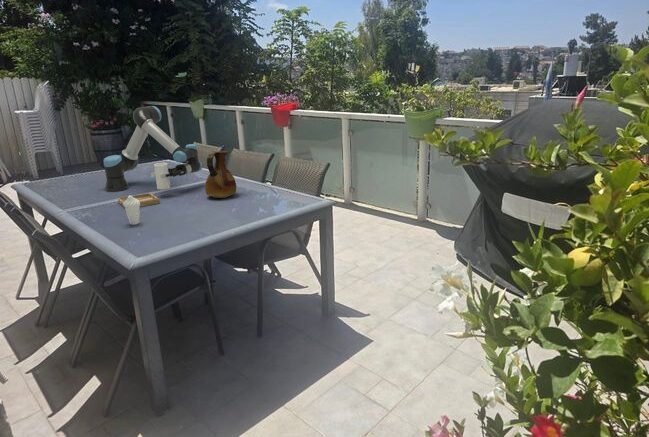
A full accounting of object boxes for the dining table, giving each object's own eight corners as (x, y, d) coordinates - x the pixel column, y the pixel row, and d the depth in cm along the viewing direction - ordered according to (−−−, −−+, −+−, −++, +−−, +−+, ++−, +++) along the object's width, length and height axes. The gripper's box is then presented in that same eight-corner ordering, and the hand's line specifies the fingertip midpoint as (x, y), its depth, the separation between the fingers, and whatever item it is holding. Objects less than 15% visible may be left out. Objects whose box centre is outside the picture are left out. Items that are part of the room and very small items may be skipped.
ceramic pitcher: (243, 194, 301) (239, 149, 292) (224, 201, 284) (219, 154, 275) (219, 191, 309) (214, 147, 300) (199, 199, 292) (194, 152, 283)
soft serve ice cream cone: (129, 221, 250) (124, 193, 245) (145, 220, 251) (140, 192, 246) (124, 226, 242) (119, 197, 237) (140, 225, 243) (135, 196, 238)
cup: (166, 189, 294) (163, 165, 289) (154, 189, 296) (151, 165, 291) (172, 186, 302) (169, 162, 297) (161, 186, 303) (158, 162, 299)
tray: (118, 202, 288) (117, 198, 287) (150, 197, 299) (150, 192, 298) (126, 209, 273) (125, 204, 272) (159, 203, 284) (159, 198, 283)
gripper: (194, 176, 307) (168, 183, 288) (172, 173, 317) (146, 179, 298) (193, 165, 305) (166, 171, 286) (171, 162, 315) (144, 168, 296)
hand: (156, 175), depth 292 cm, fingers closed on cup, 8 cm apart
